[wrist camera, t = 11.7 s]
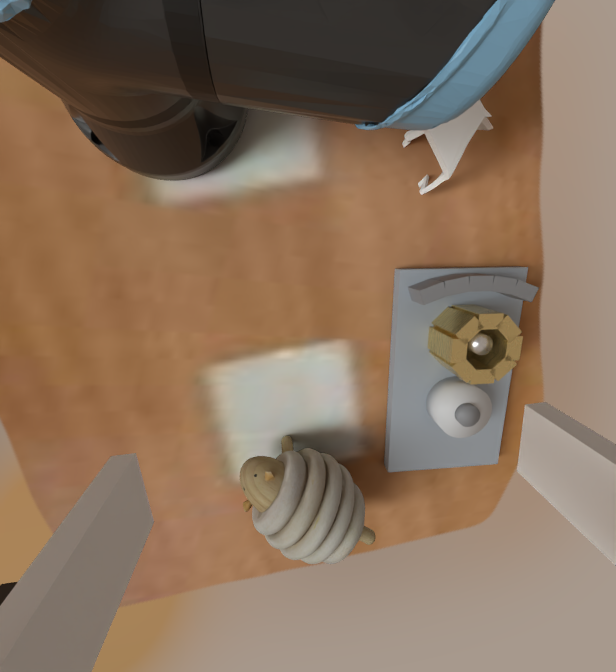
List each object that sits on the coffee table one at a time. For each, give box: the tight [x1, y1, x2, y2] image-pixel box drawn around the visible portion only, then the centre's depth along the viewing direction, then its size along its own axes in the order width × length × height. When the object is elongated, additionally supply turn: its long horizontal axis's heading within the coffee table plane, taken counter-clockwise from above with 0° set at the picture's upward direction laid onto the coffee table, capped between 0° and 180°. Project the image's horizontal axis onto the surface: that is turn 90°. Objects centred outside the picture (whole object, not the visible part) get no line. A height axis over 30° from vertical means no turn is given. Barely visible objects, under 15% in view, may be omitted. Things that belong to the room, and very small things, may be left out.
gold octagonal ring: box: [427, 304, 523, 385], centre depth 34 cm, size 7×7×5 cm
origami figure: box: [402, 100, 493, 195], centre depth 30 cm, size 12×8×5 cm
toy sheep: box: [240, 436, 375, 564], centre depth 36 cm, size 11×17×11 cm, turn 59°
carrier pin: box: [467, 332, 493, 355], centre depth 35 cm, size 2×2×4 cm
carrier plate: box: [384, 267, 539, 472], centre depth 37 cm, size 24×14×5 cm, turn 1°
